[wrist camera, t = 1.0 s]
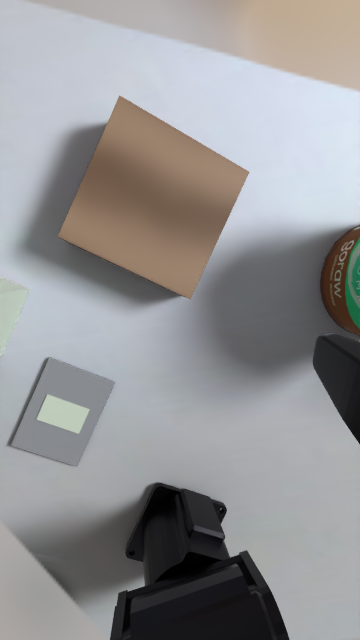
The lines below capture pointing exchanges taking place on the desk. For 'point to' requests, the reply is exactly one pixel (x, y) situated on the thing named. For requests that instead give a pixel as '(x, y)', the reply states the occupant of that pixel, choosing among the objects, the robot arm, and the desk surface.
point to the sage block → (10, 308)
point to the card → (62, 412)
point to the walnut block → (153, 200)
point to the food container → (343, 281)
